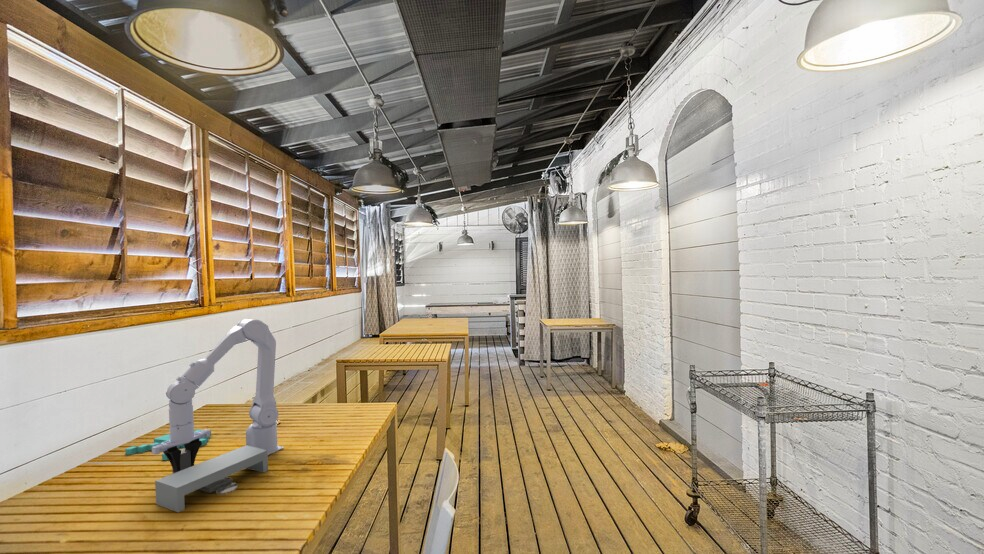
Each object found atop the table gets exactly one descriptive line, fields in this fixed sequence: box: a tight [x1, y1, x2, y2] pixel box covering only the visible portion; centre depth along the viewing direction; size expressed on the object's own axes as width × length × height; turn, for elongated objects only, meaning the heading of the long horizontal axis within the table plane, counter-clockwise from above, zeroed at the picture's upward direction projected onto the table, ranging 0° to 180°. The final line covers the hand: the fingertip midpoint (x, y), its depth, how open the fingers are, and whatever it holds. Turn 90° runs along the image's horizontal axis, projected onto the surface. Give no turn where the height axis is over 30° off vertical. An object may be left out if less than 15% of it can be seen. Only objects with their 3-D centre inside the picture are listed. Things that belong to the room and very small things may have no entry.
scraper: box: [171, 448, 233, 494], centre depth 120 cm, size 21×6×7 cm, turn 63°
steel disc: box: [215, 482, 239, 495], centre depth 114 cm, size 5×5×1 cm
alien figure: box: [124, 429, 212, 461], centre depth 148 cm, size 20×2×20 cm
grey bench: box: [154, 444, 269, 513], centre depth 117 cm, size 10×24×6 cm, turn 153°
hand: (183, 469), depth 124 cm, fingers closed on scraper, 3 cm apart
